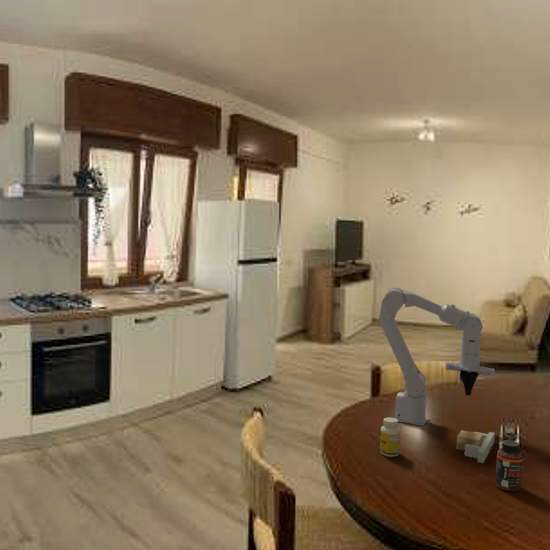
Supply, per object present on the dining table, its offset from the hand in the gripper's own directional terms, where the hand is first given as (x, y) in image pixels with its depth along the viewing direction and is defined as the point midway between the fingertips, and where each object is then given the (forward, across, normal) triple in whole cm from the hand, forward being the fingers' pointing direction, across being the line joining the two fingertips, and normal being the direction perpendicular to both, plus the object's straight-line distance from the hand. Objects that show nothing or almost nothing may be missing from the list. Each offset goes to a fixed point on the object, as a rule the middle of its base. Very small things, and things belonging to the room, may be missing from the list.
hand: (468, 394), depth 190 cm
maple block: (+11, +4, -18) cm, 22 cm away
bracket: (+10, +7, -19) cm, 23 cm away
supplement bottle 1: (+11, -14, -35) cm, 39 cm away
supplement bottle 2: (+11, +18, -40) cm, 45 cm away
